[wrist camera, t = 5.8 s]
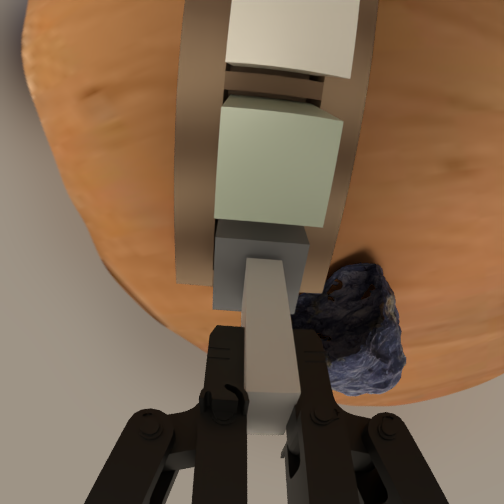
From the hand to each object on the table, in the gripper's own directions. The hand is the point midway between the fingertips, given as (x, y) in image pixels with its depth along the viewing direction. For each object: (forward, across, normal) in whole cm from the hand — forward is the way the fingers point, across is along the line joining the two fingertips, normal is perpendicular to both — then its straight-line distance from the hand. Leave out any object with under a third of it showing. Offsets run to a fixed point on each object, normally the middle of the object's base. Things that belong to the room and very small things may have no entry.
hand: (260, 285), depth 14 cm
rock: (+10, +8, -10) cm, 16 cm away
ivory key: (+5, 0, +11) cm, 12 cm away
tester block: (+9, 0, +5) cm, 11 cm away
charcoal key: (+7, 0, 0) cm, 7 cm away
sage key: (+5, 0, +5) cm, 8 cm away
